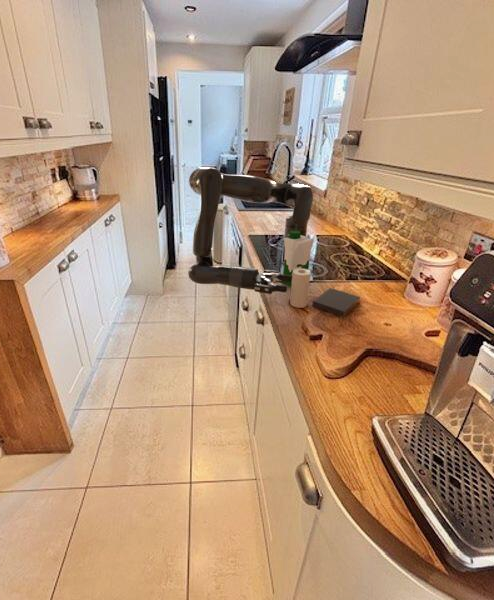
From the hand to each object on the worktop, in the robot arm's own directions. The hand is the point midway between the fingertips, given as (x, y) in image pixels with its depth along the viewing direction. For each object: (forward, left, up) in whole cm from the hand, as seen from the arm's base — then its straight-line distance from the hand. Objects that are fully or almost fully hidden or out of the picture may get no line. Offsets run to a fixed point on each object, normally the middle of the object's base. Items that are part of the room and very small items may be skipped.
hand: (289, 283), depth 110 cm
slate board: (-9, +13, -7) cm, 18 cm away
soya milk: (-15, -6, -7) cm, 17 cm away
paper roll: (-1, +3, -7) cm, 8 cm away
